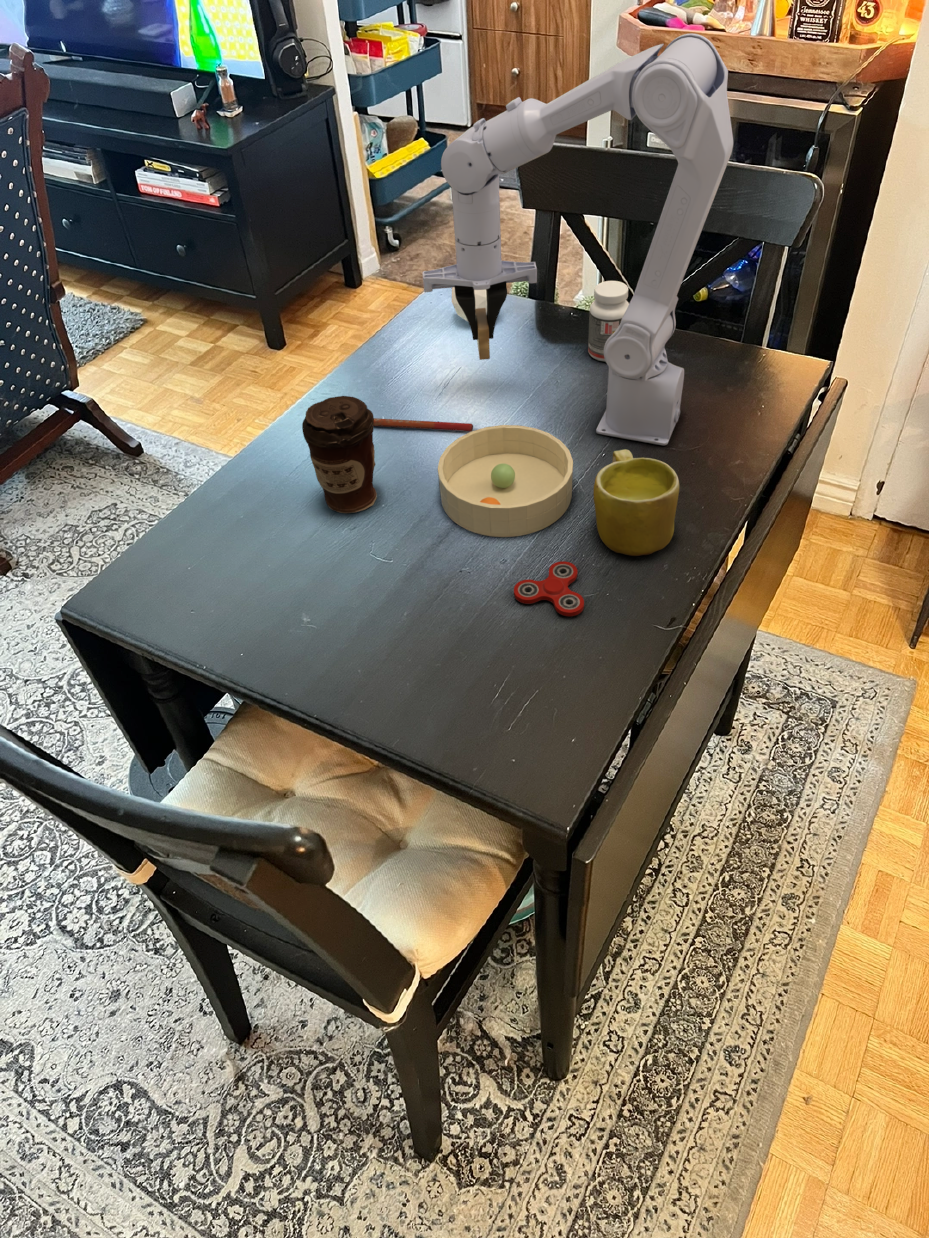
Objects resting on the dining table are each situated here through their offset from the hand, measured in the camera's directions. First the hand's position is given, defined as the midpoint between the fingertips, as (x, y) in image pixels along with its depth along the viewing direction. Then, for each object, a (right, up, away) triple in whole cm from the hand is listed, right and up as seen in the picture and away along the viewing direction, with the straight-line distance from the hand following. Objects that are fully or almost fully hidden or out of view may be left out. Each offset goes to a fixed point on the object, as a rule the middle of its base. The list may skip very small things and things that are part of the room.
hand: (482, 335), depth 123 cm
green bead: (+2, -21, -11) cm, 23 cm away
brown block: (0, -1, +2) cm, 2 cm away
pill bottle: (+19, +1, +11) cm, 22 cm away
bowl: (+3, -23, -10) cm, 25 cm away
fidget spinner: (+8, -35, -22) cm, 42 cm away
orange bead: (+1, -25, -15) cm, 29 cm away
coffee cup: (-16, -23, -9) cm, 30 cm away
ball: (0, +9, +20) cm, 22 cm away
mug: (+17, -27, -15) cm, 35 cm away
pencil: (-11, -12, +1) cm, 16 cm away
